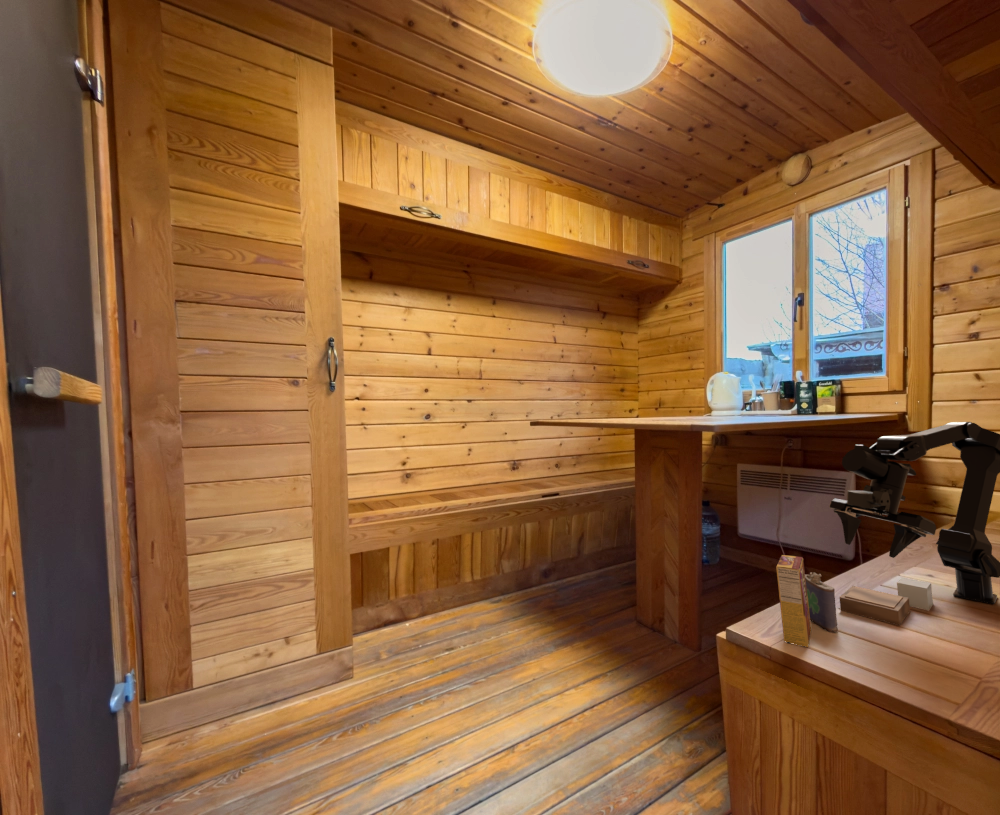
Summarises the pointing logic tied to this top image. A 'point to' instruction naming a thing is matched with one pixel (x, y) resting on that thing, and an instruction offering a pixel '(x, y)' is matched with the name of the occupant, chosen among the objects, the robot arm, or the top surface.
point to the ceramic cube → (916, 592)
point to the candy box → (793, 600)
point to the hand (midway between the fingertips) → (868, 550)
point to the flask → (821, 603)
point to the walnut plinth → (875, 605)
